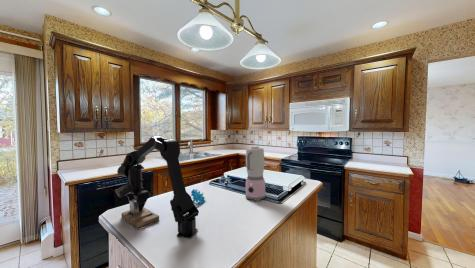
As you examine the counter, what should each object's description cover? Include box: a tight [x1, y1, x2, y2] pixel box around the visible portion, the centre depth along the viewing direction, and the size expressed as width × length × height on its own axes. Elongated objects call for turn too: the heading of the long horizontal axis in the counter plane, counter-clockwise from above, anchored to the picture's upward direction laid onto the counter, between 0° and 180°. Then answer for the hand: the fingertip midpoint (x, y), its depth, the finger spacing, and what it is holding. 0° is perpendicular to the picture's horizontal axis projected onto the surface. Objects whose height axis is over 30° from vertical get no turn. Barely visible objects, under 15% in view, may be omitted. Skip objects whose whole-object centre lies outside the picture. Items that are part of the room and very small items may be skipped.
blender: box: [245, 145, 266, 202], centre depth 117 cm, size 16×12×32 cm
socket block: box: [121, 206, 160, 230], centre depth 93 cm, size 18×10×2 cm, turn 50°
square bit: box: [129, 199, 143, 216], centre depth 95 cm, size 4×4×8 cm
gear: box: [190, 189, 206, 204], centre depth 114 cm, size 11×6×10 cm
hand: (136, 209), depth 95 cm, fingers open, 9 cm apart
